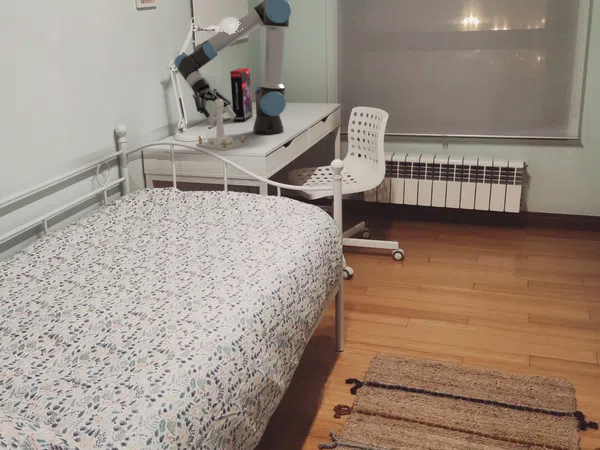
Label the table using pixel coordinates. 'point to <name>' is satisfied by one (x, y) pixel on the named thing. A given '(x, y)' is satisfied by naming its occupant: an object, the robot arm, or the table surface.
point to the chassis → (224, 145)
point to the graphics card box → (241, 94)
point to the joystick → (219, 125)
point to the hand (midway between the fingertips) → (224, 119)
